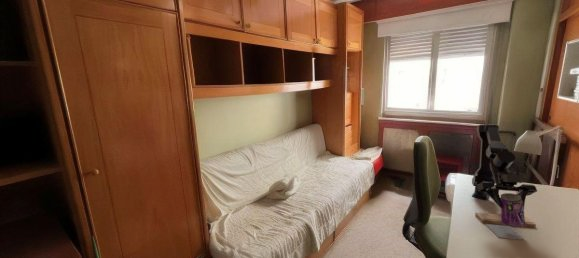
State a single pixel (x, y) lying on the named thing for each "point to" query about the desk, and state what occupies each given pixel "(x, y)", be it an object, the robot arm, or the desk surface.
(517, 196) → the beverage can
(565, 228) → the desk surface
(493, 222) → the tan flat block
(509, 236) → the slate mat
